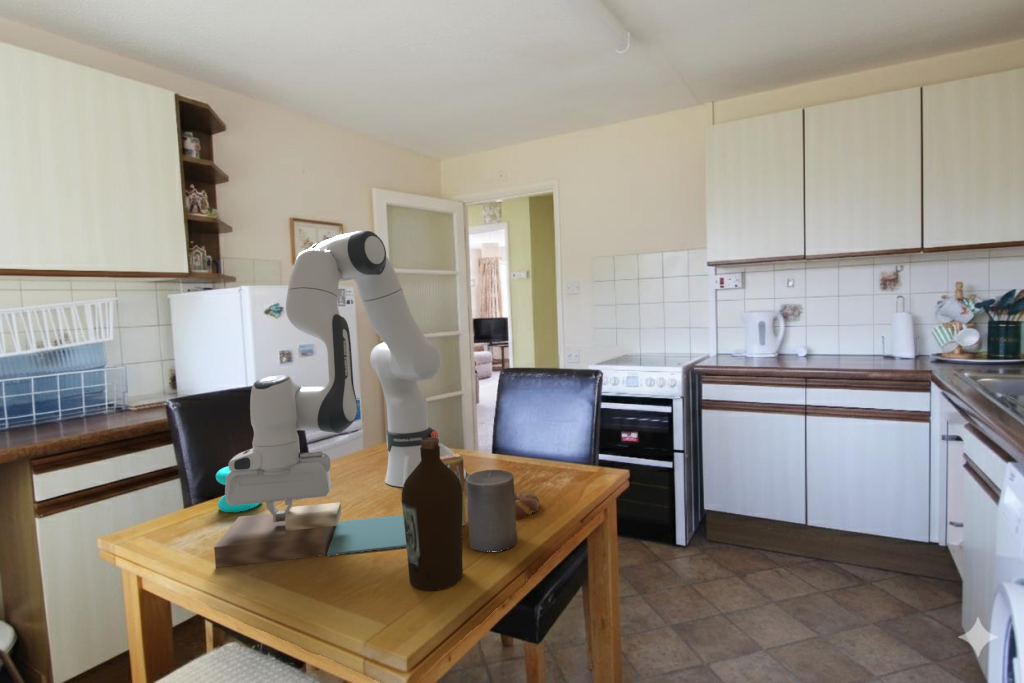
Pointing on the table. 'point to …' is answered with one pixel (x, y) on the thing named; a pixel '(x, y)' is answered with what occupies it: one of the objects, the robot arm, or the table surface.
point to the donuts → (222, 502)
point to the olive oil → (433, 521)
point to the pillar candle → (491, 510)
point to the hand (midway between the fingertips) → (281, 520)
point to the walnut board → (268, 541)
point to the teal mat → (368, 535)
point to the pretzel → (525, 504)
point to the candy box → (457, 467)
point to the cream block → (313, 516)
